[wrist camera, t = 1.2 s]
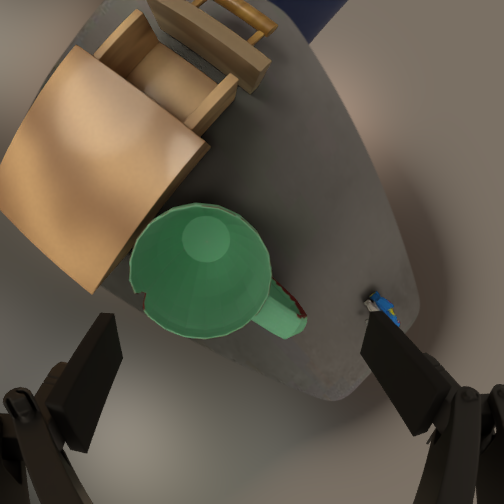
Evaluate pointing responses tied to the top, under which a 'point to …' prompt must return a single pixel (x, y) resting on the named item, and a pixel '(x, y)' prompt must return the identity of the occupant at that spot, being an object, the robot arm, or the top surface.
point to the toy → (381, 307)
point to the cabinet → (93, 167)
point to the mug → (209, 275)
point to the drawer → (181, 71)
